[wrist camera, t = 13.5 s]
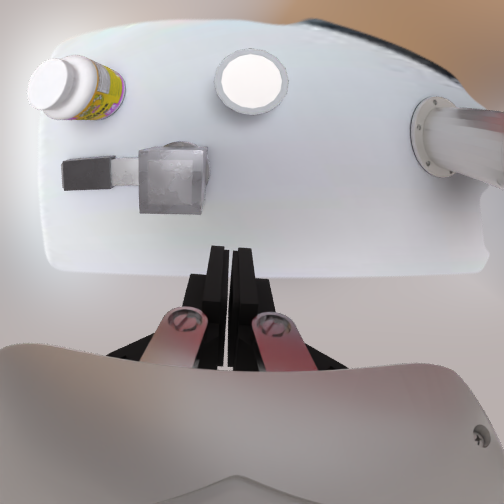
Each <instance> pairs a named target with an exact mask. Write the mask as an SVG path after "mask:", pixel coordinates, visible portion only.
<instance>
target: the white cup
mask: <svg viewBox="0 0 504 504" xmlns="http://www.w3.org/2000/svg"><path fill="white" fill-rule="evenodd" d="M214 84H215V88H216V92H217V95H218V96H219V98H220V99H221V100H222V101H223V103H224V104H225V105H226V106H227V107H229V108H231V109H233V110H234V111H236V112H238V113H243V114H249V115H256V114H261V113H266V112H268V111H270V110H272V109H273V108H275V107H276V106H278V105H279V104H280V103H281V101H282V100H283V98H284V97H285V95H286V94H287V89H288V84H289V80H288V76H287V72H286V68H285V67H284V66H283V64H282V63H281V62H280V61H279V59H278V58H277V57H275V56H273V55H272V54H270V53H268V52H266V51H264V50H258V49H253V48H249V49H243V50H238V51H235V52H234V53H232V54H230V55H229V56H227V57H225V58H224V59H223V61H222V62H221V64H220V65H219V66H218V68H217V69H216V74H215V80H214Z"/></svg>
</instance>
